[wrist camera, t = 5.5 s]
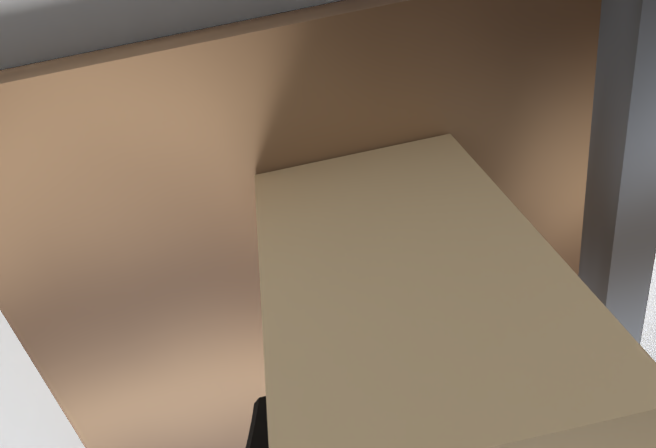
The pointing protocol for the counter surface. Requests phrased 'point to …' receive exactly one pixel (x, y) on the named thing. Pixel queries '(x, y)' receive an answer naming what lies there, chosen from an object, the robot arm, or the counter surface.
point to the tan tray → (284, 152)
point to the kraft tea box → (432, 315)
